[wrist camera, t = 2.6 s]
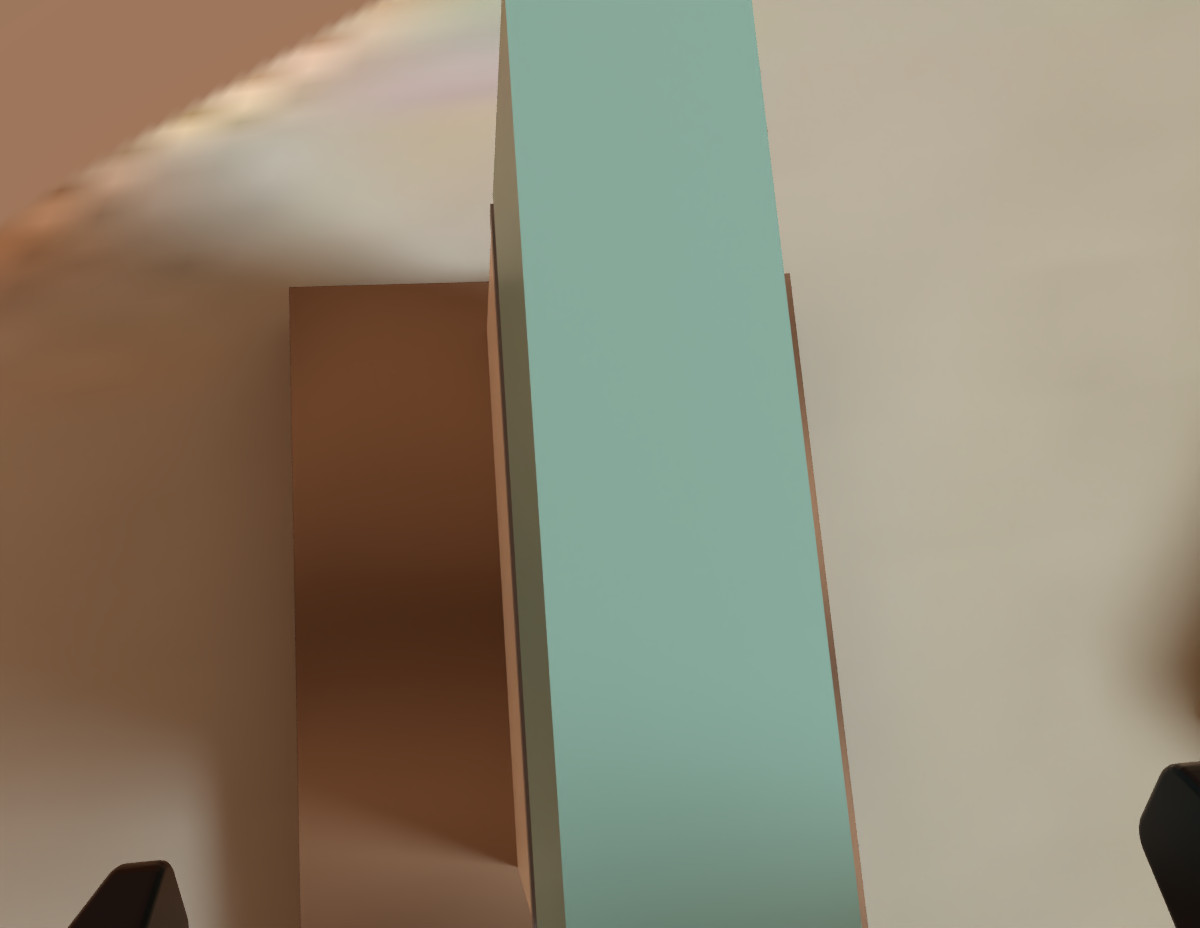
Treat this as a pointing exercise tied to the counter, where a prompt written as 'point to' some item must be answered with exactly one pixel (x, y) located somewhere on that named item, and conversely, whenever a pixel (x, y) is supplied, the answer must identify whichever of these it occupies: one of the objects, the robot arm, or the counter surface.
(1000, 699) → the counter surface
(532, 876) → the beige rectangular block
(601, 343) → the mint green pillar
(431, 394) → the brown flat block
